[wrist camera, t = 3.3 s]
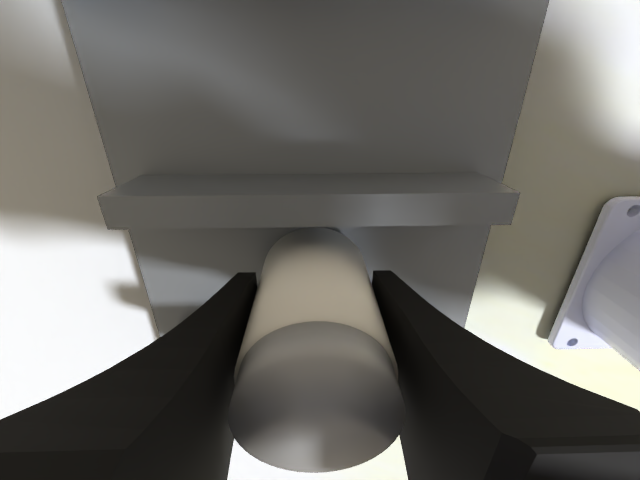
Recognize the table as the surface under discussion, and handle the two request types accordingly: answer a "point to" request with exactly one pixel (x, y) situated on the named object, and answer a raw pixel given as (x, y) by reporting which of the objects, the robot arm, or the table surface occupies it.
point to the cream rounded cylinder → (315, 360)
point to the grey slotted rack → (306, 133)
